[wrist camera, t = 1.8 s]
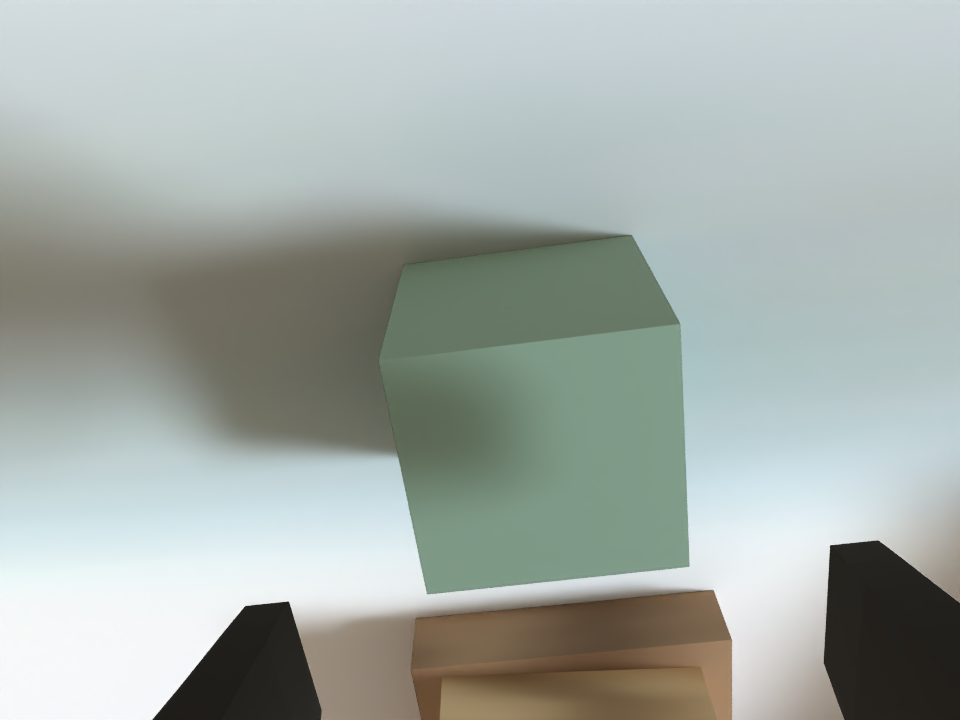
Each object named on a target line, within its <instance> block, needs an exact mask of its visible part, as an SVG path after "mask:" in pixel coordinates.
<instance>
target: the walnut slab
mask: <svg viewBox="0 0 960 720" xmlns="http://www.w3.org/2000/svg"><path fill="white" fill-rule="evenodd" d="M686 667H701V669H702V672H703V676H704V679H705V682H706V685H707V688H708V691H709V695H710V698H711V701H712V704H713V707H714V710H715V714H716V717H717V720H732V639H731V636H730V634H729V631H728V628H727V626H726V623H725V620H724V617H723V615H722V612H721V609H720V607H719V604H718V601H717V598H716V596H715V593H714V590H710V591H700V592H689V593H679V594H668V595H658V596H647V597H637V598H626V599H616V600H605V601H595V602H584V603H574V604H564V605H553V606H543V607H532V608H522V609H511V610H501V611H490V612H480V613H469V614H459V615H448V616H438V617H427V618H417V619H416V623H415V633H414V643H413V653H412V662H411V673H412V678H413V683H414V687H415V692H416V696H417V701H418V705H419V710H420V715H421V719H422V720H440V705H441V687H442V676H468V675H495V674H522V673H549V672H577V671H604V670H631V669H658V668H686Z"/></svg>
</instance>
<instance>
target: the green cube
mask: <svg viewBox="0 0 960 720" xmlns="http://www.w3.org/2000/svg"><path fill="white" fill-rule="evenodd" d="M378 362H379V366H380V371H381V376H382V381H383V386H384V390H385V395H386V400H387V405H388V410H389V414H390V419H391V424H392V429H393V433H394V438H395V443H396V448H397V453H398V457H399V462H400V467H401V472H402V476H403V481H404V486H405V491H406V496H407V500H408V505H409V510H410V515H411V520H412V524H413V529H414V534H415V539H416V543H417V548H418V553H419V558H420V563H421V567H422V572H423V577H424V582H425V586H426V591H427V594H436V593H445V592H455V591H464V590H474V589H483V588H493V587H502V586H511V585H521V584H530V583H540V582H549V581H559V580H568V579H578V578H587V577H597V576H606V575H616V574H625V573H634V572H644V571H653V570H663V569H672V568H682V567H689V541H688V515H687V488H686V462H685V435H684V409H683V382H682V355H681V329H680V322H679V321H678V319H677V317H676V315H675V313H674V311H673V310H672V308H671V306H670V304H669V302H668V300H667V299H666V297H665V295H664V293H663V291H662V289H661V288H660V286H659V284H658V282H657V280H656V278H655V277H654V275H653V273H652V271H651V269H650V267H649V266H648V264H647V262H646V260H645V258H644V256H643V255H642V253H641V251H640V249H639V247H638V245H637V244H636V242H635V240H634V238H633V236H632V235H629V236H621V237H614V238H606V239H598V240H590V241H583V242H575V243H567V244H560V245H552V246H544V247H536V248H529V249H521V250H513V251H505V252H498V253H490V254H482V255H475V256H467V257H459V258H451V259H444V260H436V261H428V262H421V263H413V264H405V265H403V269H402V273H401V277H400V280H399V284H398V288H397V292H396V296H395V300H394V303H393V307H392V311H391V315H390V319H389V322H388V326H387V330H386V334H385V338H384V342H383V345H382V349H381V353H380V357H379V361H378Z"/></svg>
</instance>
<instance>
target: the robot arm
mask: <svg viewBox="0 0 960 720" xmlns="http://www.w3.org/2000/svg"><path fill="white" fill-rule="evenodd" d="M824 665H825V667H826V670H827V673H828V676H829V679H830V681H831V684H832V687H833V690H834V693H835V695H836V698H837V701H838V704H839V706H840V709H841V711H842V714H843V717H844V719H845V720H960V603H959V602H957V601H956V600H955V599H954V598H952V597H951V596H950V595H948V594H947V593H946V592H944V591H943V590H942V589H940V588H939V587H938V586H937V585H935V584H934V583H933V582H931V581H930V580H929V579H928V578H926V577H925V576H924V575H922V574H921V573H920V572H919V571H917V570H916V569H915V568H914V567H912V566H911V565H910V564H908V563H907V562H906V561H905V560H903V559H902V558H901V557H899V556H898V555H897V554H895V553H894V552H893V551H892V550H890V549H889V548H888V547H886V546H885V545H884V544H882V543H881V542H880V541H868V542H859V543H849V544H839V545H830V559H829V577H828V596H827V614H826V632H825V650H824ZM321 711H322V710H321V707H320V704H319V700H318V697H317V694H316V690H315V687H314V684H313V680H312V677H311V674H310V670H309V667H308V664H307V660H306V657H305V654H304V650H303V647H302V644H301V640H300V637H299V634H298V630H297V627H296V624H295V620H294V617H293V614H292V610H291V607H290V604H289V602H280V603H271V604H261V605H251V606H245V607H244V608H243V610H242V611H241V612H240V613H239V614H238V616H237V617H236V618H235V619H234V620H233V622H232V623H231V624H230V625H229V626H228V628H227V629H226V630H225V631H224V633H223V634H222V635H221V636H220V637H219V639H218V640H217V641H216V642H215V644H214V645H213V646H212V647H211V649H210V650H209V651H208V652H207V654H206V655H205V656H204V657H203V659H202V660H201V661H200V662H199V664H198V665H197V666H196V667H195V669H194V670H193V671H192V672H191V674H190V675H189V676H188V677H187V679H186V680H185V681H184V682H183V684H182V685H181V686H180V687H179V688H178V690H177V691H176V692H175V693H174V694H173V696H172V697H171V698H170V699H169V700H168V702H167V703H166V704H165V705H164V706H163V708H162V709H161V710H160V711H159V712H158V714H157V715H156V716H155V717H154V718H153V720H321Z"/></svg>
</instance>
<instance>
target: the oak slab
mask: <svg viewBox="0 0 960 720" xmlns="http://www.w3.org/2000/svg"><path fill="white" fill-rule="evenodd" d="M440 720H717V717H716V714H715V710H714V707H713V704H712V701H711V698H710V695H709V691H708V688H707V685H706V682H705V679H704V676H703V672H702V669H701V667H686V668H658V669H631V670H604V671H577V672H549V673H522V674H495V675H468V676H442V687H441V705H440Z"/></svg>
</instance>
